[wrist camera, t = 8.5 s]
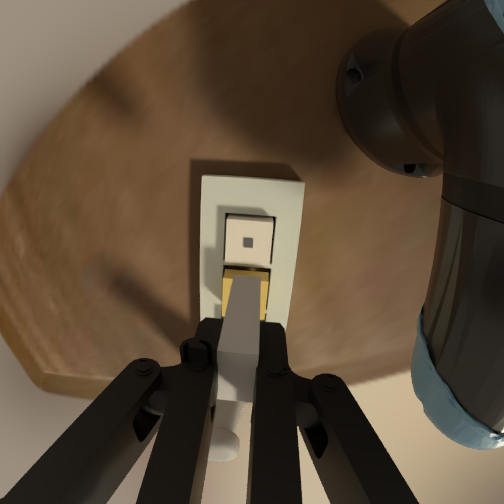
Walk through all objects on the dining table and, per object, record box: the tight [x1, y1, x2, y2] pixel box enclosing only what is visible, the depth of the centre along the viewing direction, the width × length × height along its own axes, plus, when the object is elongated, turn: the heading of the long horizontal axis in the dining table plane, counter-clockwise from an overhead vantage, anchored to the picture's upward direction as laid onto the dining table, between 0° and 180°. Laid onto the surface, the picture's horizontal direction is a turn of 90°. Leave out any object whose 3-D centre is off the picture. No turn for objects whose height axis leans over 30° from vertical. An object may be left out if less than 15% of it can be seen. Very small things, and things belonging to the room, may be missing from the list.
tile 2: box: [222, 269, 269, 320], centre depth 27 cm, size 4×4×2 cm
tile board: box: [200, 174, 305, 331], centre depth 29 cm, size 18×9×2 cm, turn 176°
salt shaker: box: [208, 399, 245, 462], centre depth 28 cm, size 6×6×13 cm
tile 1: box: [225, 214, 274, 266], centre depth 27 cm, size 4×4×2 cm
